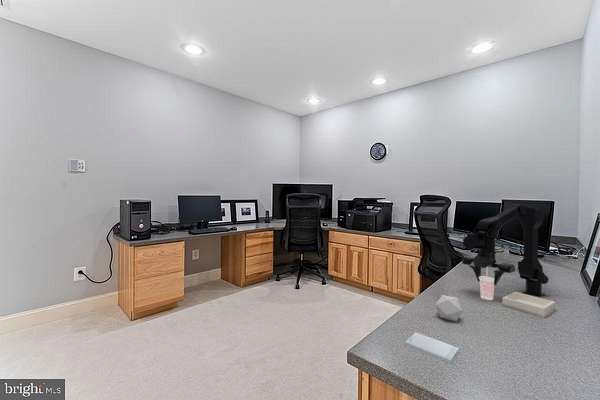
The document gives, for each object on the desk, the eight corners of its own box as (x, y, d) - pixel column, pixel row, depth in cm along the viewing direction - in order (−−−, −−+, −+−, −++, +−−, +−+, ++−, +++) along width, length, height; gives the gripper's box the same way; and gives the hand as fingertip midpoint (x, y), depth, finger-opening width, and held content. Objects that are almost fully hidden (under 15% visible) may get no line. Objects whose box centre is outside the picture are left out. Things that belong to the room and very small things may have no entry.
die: (464, 319, 97) (450, 293, 102) (470, 316, 90) (455, 289, 95) (443, 326, 98) (429, 300, 103) (447, 323, 91) (432, 296, 96)
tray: (515, 299, 115) (515, 291, 115) (555, 310, 104) (555, 301, 104) (502, 306, 108) (502, 297, 108) (543, 318, 97) (544, 308, 97)
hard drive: (405, 341, 78) (451, 359, 70) (415, 331, 84) (459, 347, 75) (405, 346, 78) (451, 365, 70) (415, 336, 84) (459, 352, 75)
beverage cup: (475, 295, 120) (475, 264, 120) (489, 295, 120) (489, 265, 120) (484, 300, 114) (484, 268, 114) (498, 300, 114) (499, 268, 114)
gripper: (456, 246, 120) (455, 280, 120) (504, 254, 104) (504, 293, 105) (468, 244, 126) (468, 277, 126) (515, 251, 110) (515, 288, 110)
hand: (487, 283), depth 117 cm, fingers closed on beverage cup, 6 cm apart
